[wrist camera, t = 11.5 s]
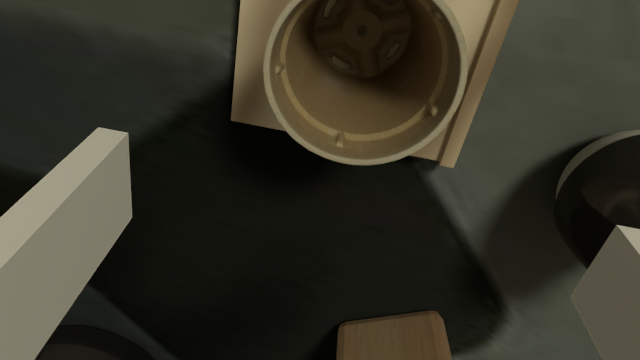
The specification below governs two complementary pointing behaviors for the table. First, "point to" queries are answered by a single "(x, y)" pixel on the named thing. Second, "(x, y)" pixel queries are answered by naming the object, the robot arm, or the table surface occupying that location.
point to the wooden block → (394, 338)
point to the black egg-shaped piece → (599, 193)
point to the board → (474, 19)
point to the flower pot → (365, 76)
